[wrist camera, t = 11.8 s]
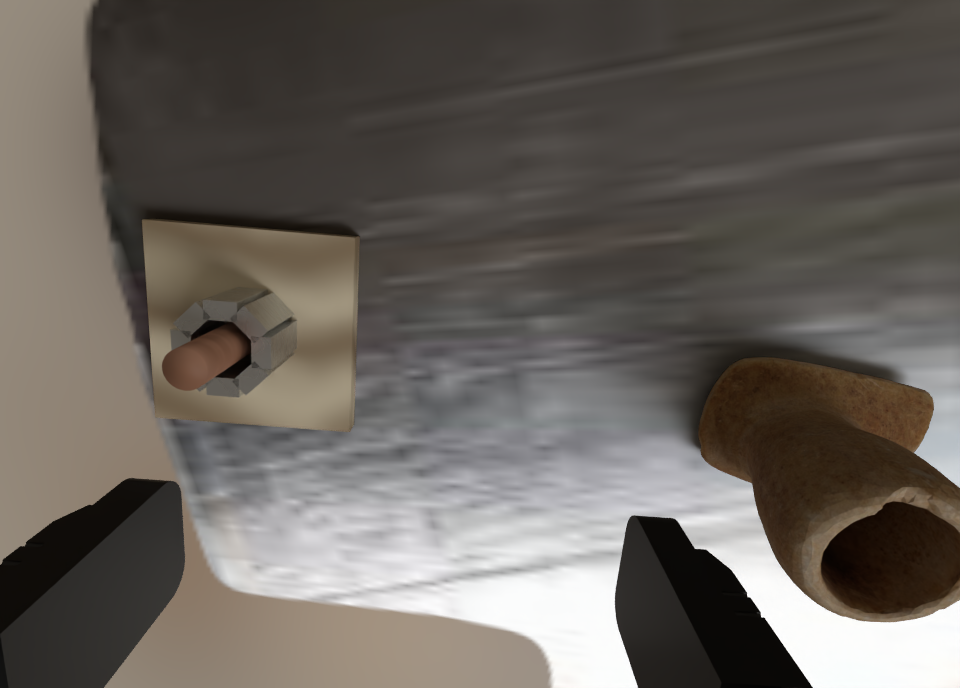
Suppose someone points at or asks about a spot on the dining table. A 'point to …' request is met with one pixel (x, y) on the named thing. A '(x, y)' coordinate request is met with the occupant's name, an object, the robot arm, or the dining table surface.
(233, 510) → the dining table surface
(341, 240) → the post stand
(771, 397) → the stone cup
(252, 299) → the ring
